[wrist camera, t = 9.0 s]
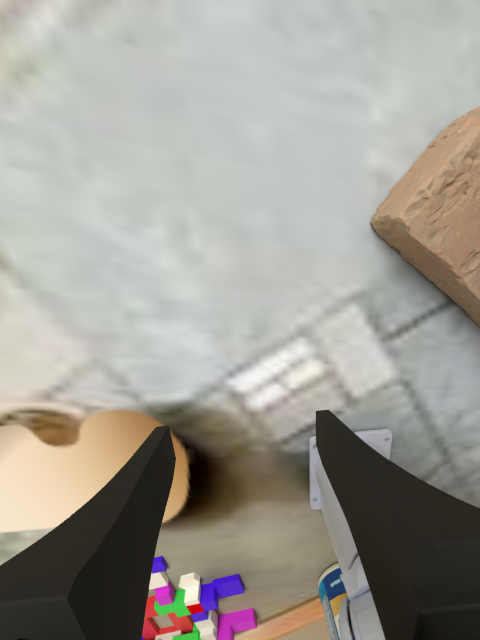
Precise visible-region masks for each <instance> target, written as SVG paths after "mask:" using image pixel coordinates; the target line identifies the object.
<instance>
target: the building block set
mask: <svg viewBox="0 0 480 640" xmlns="http://www.w3.org/2000/svg"><path fill="white" fill-rule="evenodd" d="M166 570H167V563H166V562H165V560H164V558H163V557H162V556H160V557H156V558H154V561H153V566H152V572H151V579H150V585H149V590H151V589H155V591H156V596H153V597H149V598H147V604H146V611H145V618H144V625H143V632H142V639H141V640H234V633H235V632H240V631H244V630H249V629H253V628H257V620H256V614H255V612H254V610H253V608H251V609H247V610H242V611H238V612H233V613H229V614H225V615H220V616H219V617H218V615H217V613H216V611H215V610H214V609H218V597H219V598H224V597H228V596H232V595H237V594H241V593H244V585H243V583H242V581H241V579H240V577H239V574H237V575H232V576H228V577H224V578H219V579H215V580H213V583H209V584H205V585H201V584H200V576H199V575H197V574H196V573H191V574H187V575H183V576H181V578H180V581H179V587H180V588H182V589H183V590H179V591H175V589H174V588H173V586H172V584H171V583H170V581H169V579H168V578H167V576H166V574H165V573H164V571H166ZM164 614H168V616H169V617H170V619H171V620H172V622H173V623H174V625H175V626H172V627H167V628H163V629H159V628H158V626H157V625H156V623H155V622H154V620H153V619H152V617H155V616H159V615H164ZM190 615H191V616H190Z"/></svg>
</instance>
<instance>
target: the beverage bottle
mask: <svg viewBox="0 0 480 640" xmlns="http://www.w3.org/2000/svg"><path fill="white" fill-rule="evenodd" d="M342 576H343V574H342V571H341V569H340V567H339V563H336V564H334V565H332V566H330V567H329V568H328V569H326V570H325V571H324V572H323V574H322V575H321V577H320V579H319V582H318V591H319V595H320V599H321V603H322V605H323V610H324V614H325V618H326V622H327V626H328V630H329V634H330V638H331V640H341V638H340V631H339V608H340V603H341V600H342V599H343V598H344V597H346V596H347V592H346V589H345V586H344V583H343V580H342Z"/></svg>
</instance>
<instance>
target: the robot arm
mask: <svg viewBox="0 0 480 640" xmlns="http://www.w3.org/2000/svg"><path fill="white" fill-rule="evenodd" d="M392 436H393V434H392V432H391V431H390V430H389V429H379V430H369V431H359V432H352V431H351V430H350V429H349V428H348V427H347V426H346V425H345V424H343V423H342V422H341V421H340V420H339V419H338V418H337V417H336V416H335V415H334V414H333V413H332V412H330V411H329V410H321V411H316V436H312V437H311V438H310V440H309V471H310V506H311V508H312V509H313V510H317V509H321V512H322V515H323V518H324V521H325V524H326V527H327V530H328V533H329V536H330V539H331V542H332V545H333V548H334V551H335V554H336V557H337V560H338V563H339V567H340V569H341V571H342V574H343V576H342V580H343V583H344V586H345V589H346V592H347V596H346V597H344V598H343V599H342V600H341V603H340V608H339V631H340V638H341V640H480V508H477V507H475V506H473V505H470V504H468V503H466V502H464V501H461V500H459V499H457V498H455V497H453V496H451V495H449V494H447V493H445V492H443V491H441V490H439V489H437V488H435V487H433V486H431V485H429V484H427V483H426V482H424V481H422V480H420V479H419V478H417V477H415V476H413V475H412V474H410V473H408V472H407V471H405V470H403V469H402V468H400V467H399V466H397V465H396V464H394V463H393V462H391V461H390V453H391V444H392ZM385 438H386V439H385ZM314 445H316V446H314ZM175 461H176V457H175V452H174V447H173V443H172V438H171V433H170V429H169V426H159V427H156V428H155V429H154V431H152V433H151V434H150V435H149V436H148V438H147V439H146V440H145V441H144V443H143V444H142V445H141V446H140V448H139V449H138V450H137V451H136V452H135V453H134V455H133V456H132V457H131V458H130V459H129V461H128V462H127V463H126V464H125V465H124V466H123V467H122V468H121V469H120V471H119V472H118V473H117V474H116V475H115V476H114V477H113V478H112V479H111V480H110V481H109V482H108V483H107V484H106V485H105V486H104V487H103V488H102V489H101V490H100V491H99V492H98V493H97V494H96V495H95V496H94V497H93V498H91V499H90V500H89V501H88V502H87V503H86V504H85V505H84V506H82V507H81V508H80V509H78V510H77V511H76V512H75V513H74V514H73V515H71V516H70V517H69V518H68V519H66V520H65V521H64V522H63V523H61V524H60V525H59V526H57V527H56V528H55V529H53V530H52V531H51V532H49V533H48V534H47V535H45V536H44V537H42V538H41V539H40V540H38V541H37V542H35V543H34V544H32V545H31V546H29V547H28V548H26V549H25V550H23V551H22V552H20V553H19V554H17V555H16V556H14V557H13V558H11V559H10V560H8V561H7V562H5V563H4V564H2V565H1V566H0V640H141V639H142V632H143V625H144V618H145V611H146V604H147V597H148V591H149V585H150V579H151V572H152V566H153V561H154V555H155V549H156V544H157V539H158V535H159V531H160V527H161V523H162V520H163V516H164V512H165V507H166V505H167V501H168V497H169V493H170V489H171V485H172V481H173V475H174V468H175Z"/></svg>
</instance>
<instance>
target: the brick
mask: <svg viewBox="0 0 480 640" xmlns="http://www.w3.org/2000/svg"><path fill="white" fill-rule="evenodd" d="M370 222H371V224H372V228H373V229H374V230H376V233H377V234H378V235H379V236H380V237H381V238H383V239H384V240H385V241H386V242H387V243H388V244H389V245H390V246H392V247H394V248H396V249H398V250H400V254H401V256H402V257H403V259H404V260H406V261H407V262H409V263H410V264H412V265H413V266H414V267H415V268H416V269H417V270H419V271H420V272H421V273H422V274H423V275H424V276H425V277H426V278H427V279H428V280H430V281H432V282H433V283H434V284H435V286H436V287H438V288H439V289H440V290H442V291H443V292H444V293H446V295H448V296H449V297H450V298H451V299H452V300H453V301H454V302H455V303H456V304H457V305H459V306H460V307H462V308H463V309H464V311H465V312H466V313H467V314H468V315H469V316H470V317H471V319H472V320H473V321H474V322H475V323H476V324H477V325H479V326H480V107H478V108H475V109H473V110H472V111H470V112H469V113H468V114H467V115H463V116H461V117H460V118H458V119H456V120H455V121H454V122H452V123H451V124H450V125H449V126H447V127H446V128H445V129H444V130H443V131H442V132H441V133H440V134H439V135H438V136H437V137H436V138H435V139H434V140H433V141H432V142H431V144H430V145H429V146H428V148H427V149H426V150H425V151H424V152H423V153H422V154H421V155H420V156H419V157H418V159H417V160H416V161H415V162H414V164H413V165H412V166H411V168H410V169H409V171H408V172H407V173H406V175H405V176H404V177H403V178H402V179H401V180H400V181H398V182H397V183H396V184H395V185H394V186H393V188H392V189H391V191H390V194H389V196H388V197H387V198H386V200H385V201H384V202H383V203H382V204H380V205H379V207H378V209H377V212H376V213H375V214H374V215H373V217H372V219H371V220H370Z"/></svg>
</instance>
